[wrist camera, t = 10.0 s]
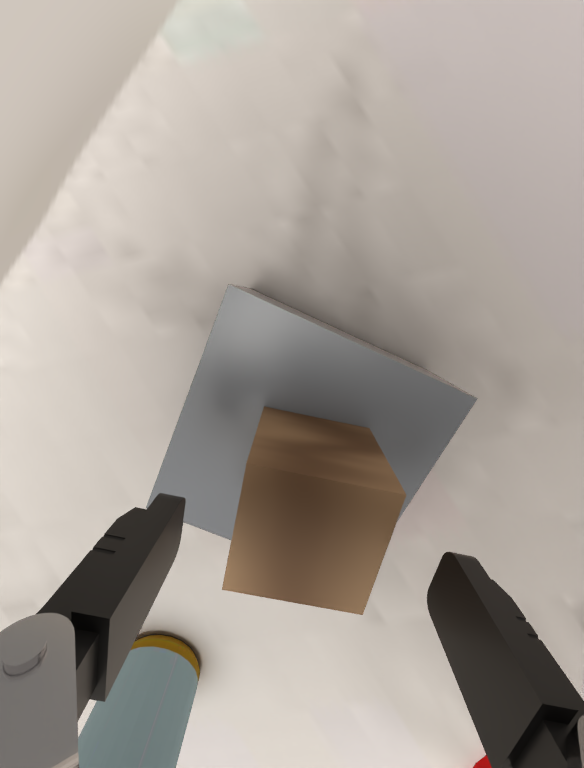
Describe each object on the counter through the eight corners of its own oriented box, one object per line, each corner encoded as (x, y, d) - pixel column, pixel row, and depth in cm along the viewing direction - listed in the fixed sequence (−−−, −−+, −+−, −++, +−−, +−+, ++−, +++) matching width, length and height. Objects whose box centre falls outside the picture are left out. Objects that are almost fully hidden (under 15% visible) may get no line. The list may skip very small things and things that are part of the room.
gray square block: (424, 368, 19) (477, 398, 14) (340, 513, 23) (354, 586, 17) (250, 288, 18) (228, 284, 13) (187, 451, 21) (145, 507, 16)
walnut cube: (369, 428, 14) (406, 494, 9) (342, 516, 16) (362, 614, 11) (264, 406, 14) (246, 463, 9) (245, 497, 15) (222, 589, 10)
